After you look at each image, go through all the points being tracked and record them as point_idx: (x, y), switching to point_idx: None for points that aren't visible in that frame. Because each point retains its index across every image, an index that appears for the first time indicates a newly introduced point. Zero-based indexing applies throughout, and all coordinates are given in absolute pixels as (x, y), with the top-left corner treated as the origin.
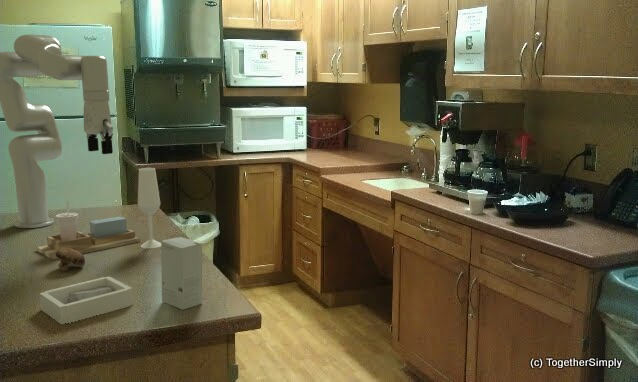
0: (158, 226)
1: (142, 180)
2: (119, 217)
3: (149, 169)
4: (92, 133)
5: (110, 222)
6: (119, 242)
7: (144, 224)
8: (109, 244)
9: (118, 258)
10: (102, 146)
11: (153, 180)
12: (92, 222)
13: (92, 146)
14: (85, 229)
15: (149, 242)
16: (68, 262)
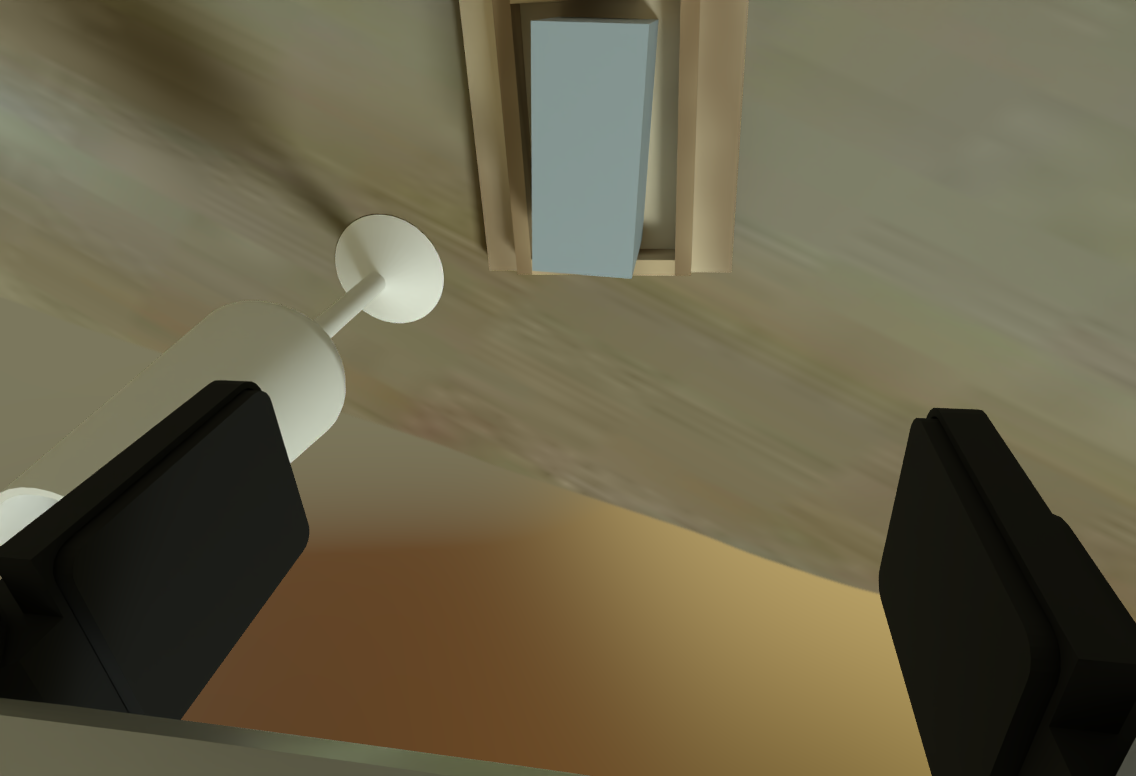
0: (727, 481)
1: (80, 425)
2: (600, 255)
3: None
4: (83, 721)
5: (532, 151)
6: (475, 141)
7: (833, 460)
8: (467, 71)
9: (241, 14)
10: (107, 467)
11: None
12: (584, 23)
13: (927, 547)
14: (1068, 148)
15: (362, 260)
16: None
